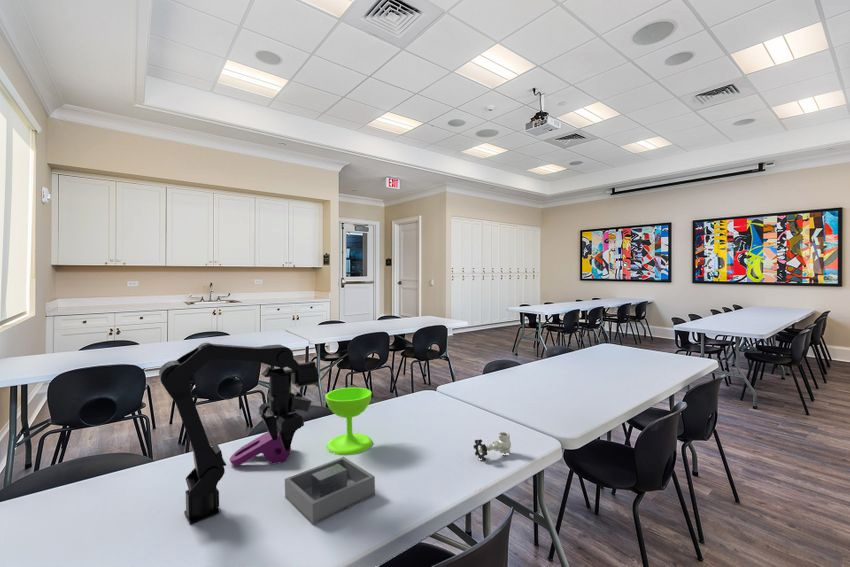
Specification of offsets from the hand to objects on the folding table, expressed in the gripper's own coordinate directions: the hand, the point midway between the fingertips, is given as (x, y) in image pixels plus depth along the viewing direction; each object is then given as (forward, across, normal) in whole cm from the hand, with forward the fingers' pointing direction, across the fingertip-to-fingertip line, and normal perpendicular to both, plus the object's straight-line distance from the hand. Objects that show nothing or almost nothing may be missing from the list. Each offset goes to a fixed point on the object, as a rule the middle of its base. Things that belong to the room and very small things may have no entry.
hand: (280, 445), depth 108 cm
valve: (+11, -30, -58) cm, 66 cm away
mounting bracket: (+12, +21, -2) cm, 24 cm away
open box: (+12, -14, -8) cm, 20 cm away
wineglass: (+12, +11, -28) cm, 32 cm away
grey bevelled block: (+11, -14, -8) cm, 19 cm away
